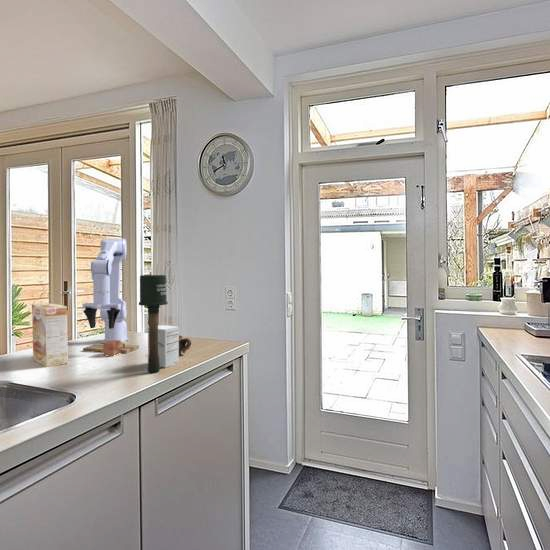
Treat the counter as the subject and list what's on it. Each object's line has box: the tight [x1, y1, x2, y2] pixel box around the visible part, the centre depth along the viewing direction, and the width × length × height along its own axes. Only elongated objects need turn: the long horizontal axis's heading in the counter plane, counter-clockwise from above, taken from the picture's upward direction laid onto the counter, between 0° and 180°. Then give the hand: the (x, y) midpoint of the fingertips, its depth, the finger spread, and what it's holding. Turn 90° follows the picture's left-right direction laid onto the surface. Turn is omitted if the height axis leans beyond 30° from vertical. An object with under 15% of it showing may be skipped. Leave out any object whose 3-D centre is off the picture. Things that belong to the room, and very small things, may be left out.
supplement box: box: [147, 324, 180, 369], centre depth 137 cm, size 7×7×13 cm
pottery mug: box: [179, 334, 192, 357], centre depth 153 cm, size 12×10×8 cm
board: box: [82, 343, 140, 354], centre depth 160 cm, size 9×18×1 cm, turn 80°
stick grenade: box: [138, 274, 168, 374], centre depth 128 cm, size 8×9×30 cm
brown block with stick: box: [102, 340, 127, 357], centre depth 155 cm, size 11×4×5 cm, turn 170°
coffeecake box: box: [31, 302, 69, 368], centre depth 141 cm, size 15×7×20 cm, turn 45°
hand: (102, 328), depth 155 cm, fingers open, 7 cm apart
